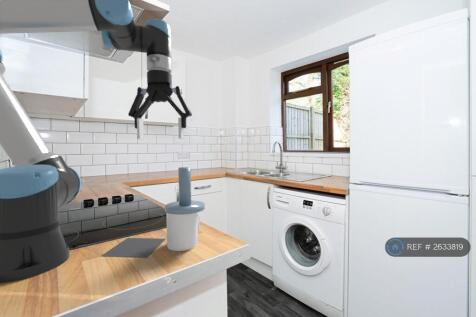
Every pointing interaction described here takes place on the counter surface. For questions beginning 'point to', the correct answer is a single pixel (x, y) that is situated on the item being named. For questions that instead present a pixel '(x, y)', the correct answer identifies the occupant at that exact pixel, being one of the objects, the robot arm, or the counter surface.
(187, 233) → the mug
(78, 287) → the counter surface
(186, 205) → the lid
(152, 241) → the mat
